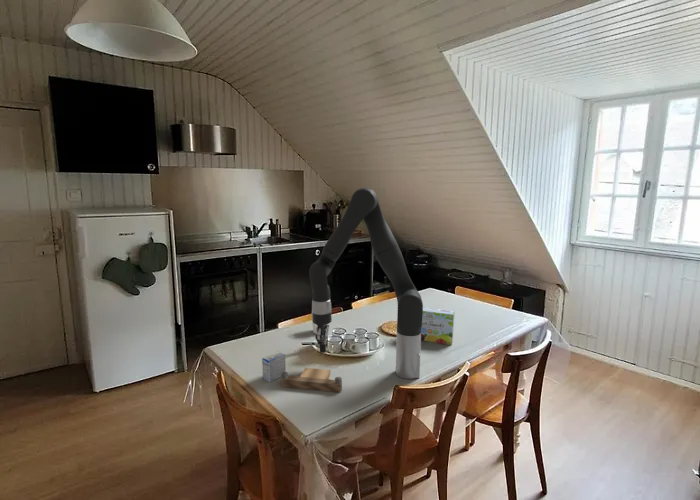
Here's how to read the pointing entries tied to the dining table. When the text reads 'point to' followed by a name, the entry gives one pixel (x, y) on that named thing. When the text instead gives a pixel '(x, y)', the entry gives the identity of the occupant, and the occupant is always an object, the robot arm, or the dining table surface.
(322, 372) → the light wooden block
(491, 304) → the dining table surface
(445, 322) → the snack box
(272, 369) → the medicine box
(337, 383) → the bar
